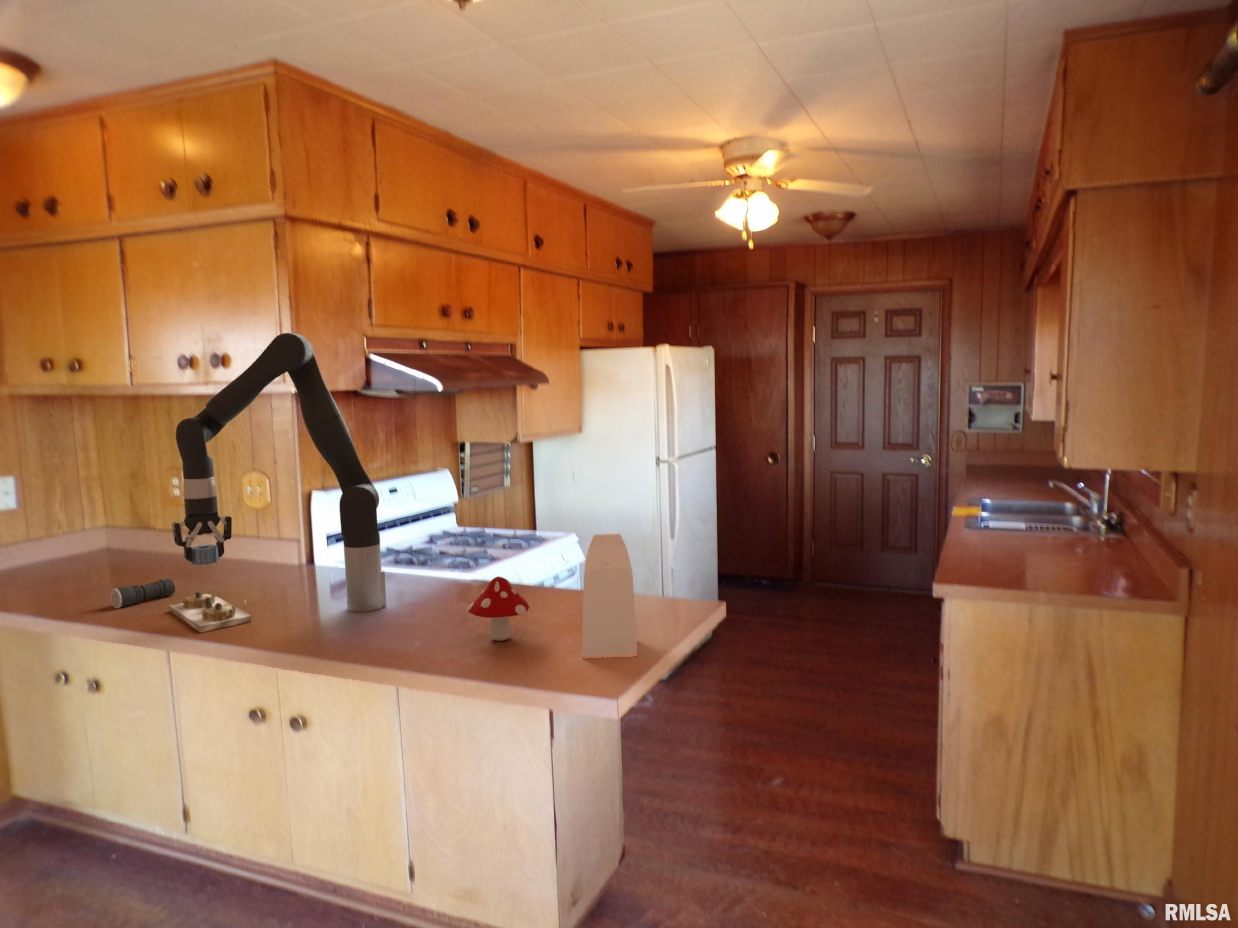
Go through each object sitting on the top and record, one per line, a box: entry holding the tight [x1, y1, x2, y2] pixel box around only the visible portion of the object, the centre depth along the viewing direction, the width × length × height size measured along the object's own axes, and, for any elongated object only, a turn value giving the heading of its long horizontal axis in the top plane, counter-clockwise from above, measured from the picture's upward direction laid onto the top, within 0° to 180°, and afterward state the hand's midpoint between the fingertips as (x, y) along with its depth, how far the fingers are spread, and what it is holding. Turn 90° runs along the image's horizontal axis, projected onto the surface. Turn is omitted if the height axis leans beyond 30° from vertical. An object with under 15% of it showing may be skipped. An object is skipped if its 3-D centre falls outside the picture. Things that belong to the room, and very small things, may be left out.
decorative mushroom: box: [467, 576, 530, 642], centre depth 189 cm, size 14×14×15 cm
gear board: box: [169, 590, 252, 633], centre depth 213 cm, size 12×26×5 cm, turn 43°
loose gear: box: [190, 543, 220, 566], centre depth 211 cm, size 7×7×4 cm
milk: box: [581, 533, 638, 657], centre depth 181 cm, size 12×12×26 cm
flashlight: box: [109, 578, 176, 609], centre depth 228 cm, size 15×5×5 cm, turn 147°
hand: (205, 558), depth 211 cm, fingers closed on loose gear, 6 cm apart
